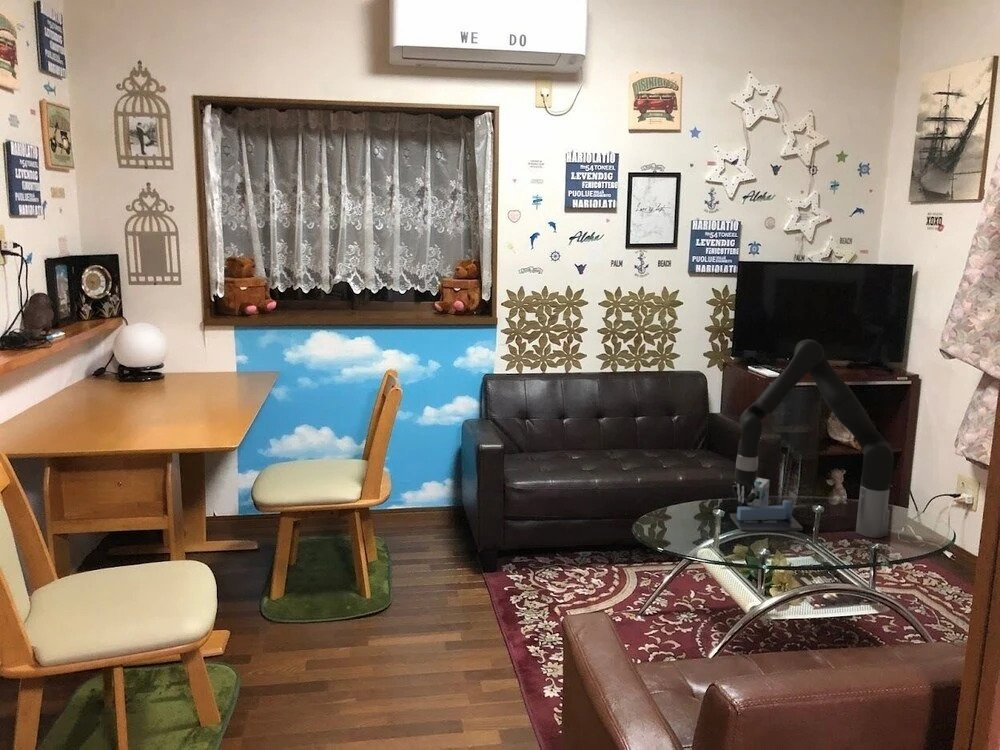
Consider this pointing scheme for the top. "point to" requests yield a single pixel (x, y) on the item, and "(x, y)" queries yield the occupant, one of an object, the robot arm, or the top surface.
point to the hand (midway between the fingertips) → (742, 511)
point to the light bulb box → (761, 492)
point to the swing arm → (766, 512)
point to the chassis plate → (767, 524)
